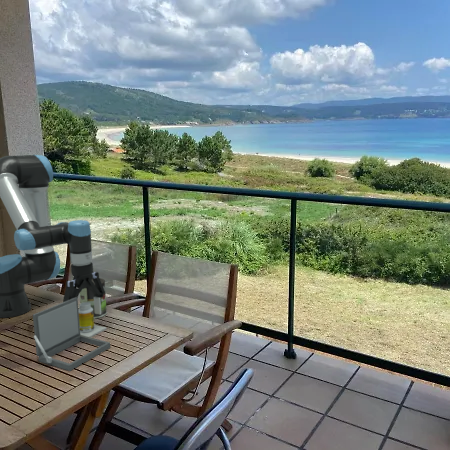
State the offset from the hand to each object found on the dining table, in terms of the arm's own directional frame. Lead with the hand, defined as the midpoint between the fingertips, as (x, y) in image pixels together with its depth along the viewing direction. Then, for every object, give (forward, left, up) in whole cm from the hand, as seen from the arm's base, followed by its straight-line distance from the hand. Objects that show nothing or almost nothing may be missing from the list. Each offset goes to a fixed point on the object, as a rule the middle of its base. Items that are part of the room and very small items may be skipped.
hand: (85, 319), depth 164 cm
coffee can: (-10, +14, -5) cm, 18 cm away
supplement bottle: (0, 0, -4) cm, 4 cm away
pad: (0, 0, -5) cm, 5 cm away
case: (+10, -15, -5) cm, 19 cm away
